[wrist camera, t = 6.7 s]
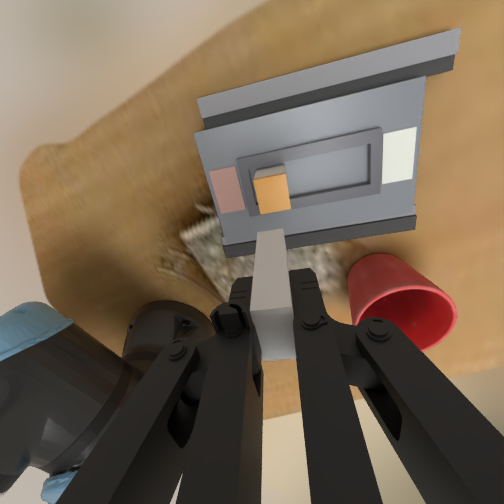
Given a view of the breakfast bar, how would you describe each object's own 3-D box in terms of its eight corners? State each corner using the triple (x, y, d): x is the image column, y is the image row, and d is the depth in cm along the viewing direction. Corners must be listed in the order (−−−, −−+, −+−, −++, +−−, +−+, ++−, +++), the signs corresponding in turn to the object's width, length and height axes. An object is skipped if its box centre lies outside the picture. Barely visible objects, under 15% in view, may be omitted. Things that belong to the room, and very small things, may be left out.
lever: (262, 199, 29) (260, 214, 25) (256, 169, 27) (253, 180, 23) (288, 194, 28) (291, 209, 24) (284, 163, 27) (285, 173, 23)
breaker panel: (229, 232, 35) (225, 246, 31) (200, 130, 29) (190, 134, 25) (401, 203, 31) (417, 215, 28) (410, 78, 25) (432, 74, 21)
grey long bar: (208, 129, 29) (205, 131, 27) (200, 99, 27) (196, 98, 26) (443, 71, 24) (455, 69, 23) (448, 32, 23) (461, 27, 21)
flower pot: (321, 287, 38) (334, 338, 30) (369, 229, 33) (402, 271, 25) (377, 313, 40) (405, 368, 32) (432, 262, 35) (482, 312, 27)
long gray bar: (228, 251, 36) (226, 258, 35) (222, 233, 35) (220, 239, 33) (408, 223, 32) (415, 229, 31) (410, 201, 31) (417, 206, 29)
